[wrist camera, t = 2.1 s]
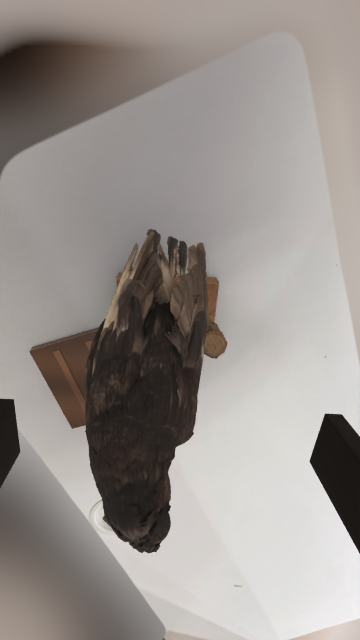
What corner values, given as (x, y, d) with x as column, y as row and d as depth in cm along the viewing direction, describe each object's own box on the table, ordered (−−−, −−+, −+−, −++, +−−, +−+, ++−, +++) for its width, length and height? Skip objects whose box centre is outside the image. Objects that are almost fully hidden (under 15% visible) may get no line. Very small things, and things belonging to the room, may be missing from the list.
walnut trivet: (32, 347, 37) (28, 352, 36) (111, 323, 37) (110, 327, 36) (74, 423, 42) (71, 429, 41) (145, 403, 41) (144, 409, 40)
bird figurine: (222, 218, 33) (365, 283, 10) (209, 340, 38) (279, 572, 15) (118, 211, 32) (1, 263, 9) (119, 337, 37) (47, 575, 14)
